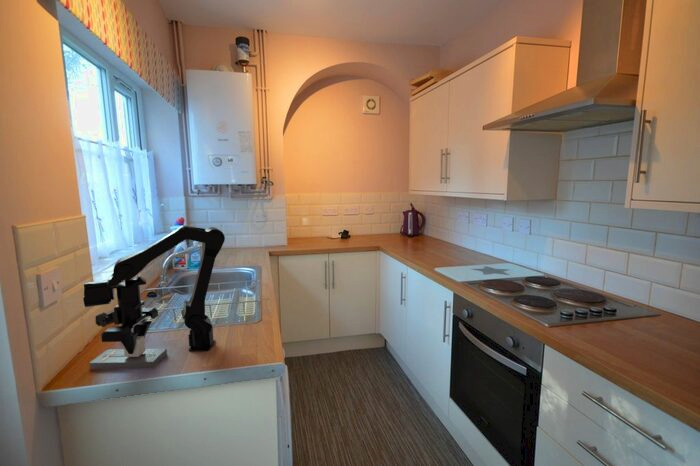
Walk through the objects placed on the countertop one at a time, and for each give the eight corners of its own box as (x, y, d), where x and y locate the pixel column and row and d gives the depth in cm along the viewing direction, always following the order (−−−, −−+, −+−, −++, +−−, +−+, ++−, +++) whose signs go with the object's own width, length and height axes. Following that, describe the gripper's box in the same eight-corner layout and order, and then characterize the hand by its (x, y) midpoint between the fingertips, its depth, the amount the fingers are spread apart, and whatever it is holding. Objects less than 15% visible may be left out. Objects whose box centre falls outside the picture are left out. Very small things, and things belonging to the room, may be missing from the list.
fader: (145, 350, 106) (143, 335, 105) (138, 356, 102) (136, 340, 101) (131, 351, 106) (130, 335, 105) (124, 356, 102) (123, 341, 101)
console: (167, 354, 108) (166, 348, 108) (153, 368, 100) (152, 361, 100) (108, 355, 108) (107, 349, 108) (90, 369, 100) (89, 362, 100)
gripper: (121, 290, 110) (126, 337, 113) (77, 313, 92) (84, 367, 94) (156, 290, 111) (161, 336, 113) (120, 312, 92) (126, 367, 95)
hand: (134, 350), depth 104 cm, fingers closed on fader, 3 cm apart
